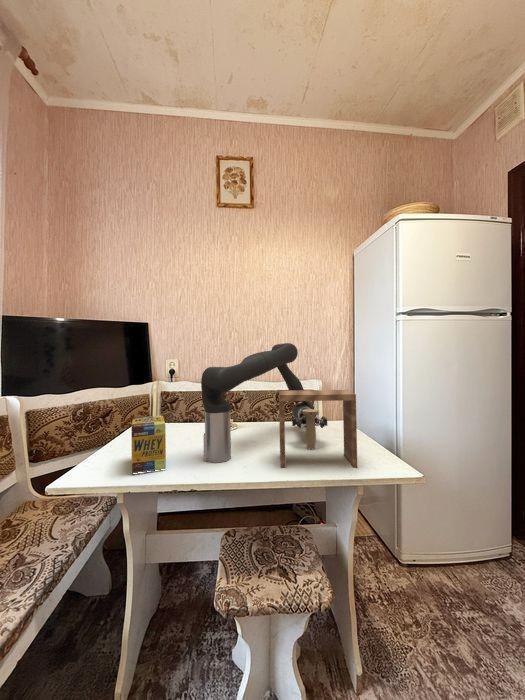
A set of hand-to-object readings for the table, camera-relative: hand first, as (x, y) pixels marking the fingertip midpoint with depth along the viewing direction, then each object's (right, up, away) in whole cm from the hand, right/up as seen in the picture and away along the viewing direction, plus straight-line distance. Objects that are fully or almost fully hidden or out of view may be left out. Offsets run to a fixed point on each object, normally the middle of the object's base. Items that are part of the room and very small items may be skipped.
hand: (311, 425), depth 116 cm
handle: (0, -10, +2) cm, 10 cm away
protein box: (-58, -11, -13) cm, 61 cm away
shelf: (0, -9, -12) cm, 15 cm away
